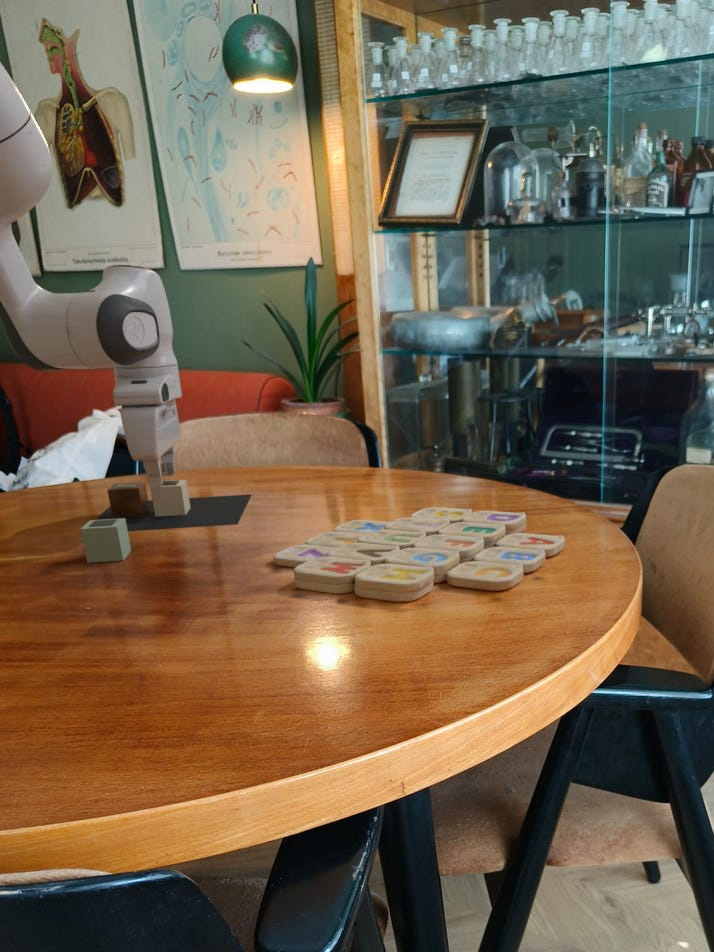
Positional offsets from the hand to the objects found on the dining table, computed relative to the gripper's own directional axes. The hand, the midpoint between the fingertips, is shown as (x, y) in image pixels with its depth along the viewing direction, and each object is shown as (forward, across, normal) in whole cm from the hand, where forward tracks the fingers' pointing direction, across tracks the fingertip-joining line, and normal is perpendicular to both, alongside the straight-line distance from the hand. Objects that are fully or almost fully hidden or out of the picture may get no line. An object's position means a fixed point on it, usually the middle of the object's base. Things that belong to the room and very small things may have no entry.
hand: (163, 481), depth 134 cm
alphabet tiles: (+5, +31, +36) cm, 48 cm away
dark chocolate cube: (+5, 0, -5) cm, 7 cm away
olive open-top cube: (+6, +22, -4) cm, 23 cm away
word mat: (+5, 0, +1) cm, 5 cm away
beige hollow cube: (+5, 0, +1) cm, 5 cm away
